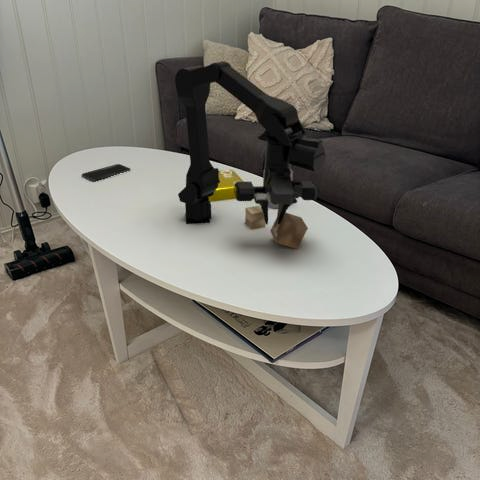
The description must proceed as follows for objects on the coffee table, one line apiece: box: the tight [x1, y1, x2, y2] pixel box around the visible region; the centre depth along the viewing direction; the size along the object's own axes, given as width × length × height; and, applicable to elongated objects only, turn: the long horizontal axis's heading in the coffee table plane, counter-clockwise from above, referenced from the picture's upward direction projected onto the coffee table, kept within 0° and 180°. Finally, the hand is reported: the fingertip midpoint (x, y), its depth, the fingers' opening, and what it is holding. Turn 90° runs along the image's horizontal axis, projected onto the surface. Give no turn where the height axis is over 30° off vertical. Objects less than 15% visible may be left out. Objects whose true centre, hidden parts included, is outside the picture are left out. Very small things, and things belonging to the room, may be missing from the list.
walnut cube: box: [270, 211, 309, 250], centre depth 115 cm, size 6×6×6 cm
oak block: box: [244, 205, 266, 230], centre depth 125 cm, size 4×4×5 cm
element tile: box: [208, 169, 245, 203], centre depth 146 cm, size 15×15×5 cm
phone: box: [81, 163, 131, 183], centre depth 159 cm, size 8×1×15 cm
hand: (272, 223), depth 114 cm, fingers open, 3 cm apart
